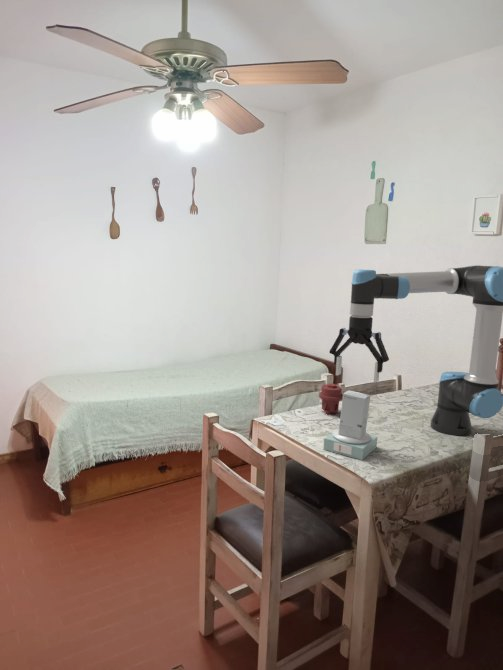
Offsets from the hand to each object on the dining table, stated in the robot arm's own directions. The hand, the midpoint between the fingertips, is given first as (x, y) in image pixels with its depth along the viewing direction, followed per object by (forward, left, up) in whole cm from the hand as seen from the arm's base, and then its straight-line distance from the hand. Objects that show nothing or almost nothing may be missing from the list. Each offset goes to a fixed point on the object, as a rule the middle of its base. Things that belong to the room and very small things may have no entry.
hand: (356, 378), depth 167 cm
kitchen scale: (0, 0, -25) cm, 25 cm away
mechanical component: (+22, -31, -26) cm, 46 cm away
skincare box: (0, 0, -21) cm, 21 cm away
